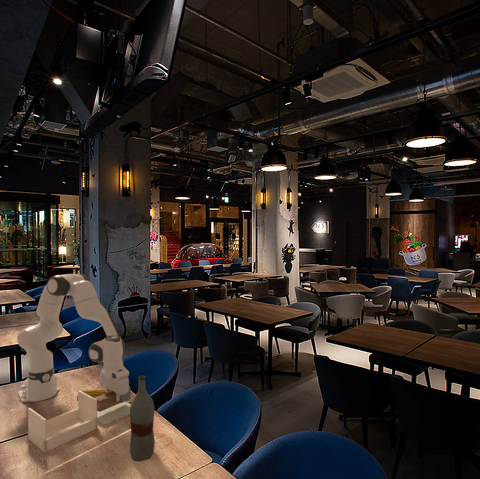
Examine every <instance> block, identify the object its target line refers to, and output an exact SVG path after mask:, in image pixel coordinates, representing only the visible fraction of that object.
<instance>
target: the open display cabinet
mask: <svg viewBox="0 0 480 479" xmlns="http://www.w3.org/2000/svg"><path fill="white" fill-rule="evenodd" d="M77 395H78V401H77V408H74V409H72V410H69V411H67V412H64V413H62V414H60V415H57V416H54V417H51V418H49V419H46V418H45V417H43V416H42V415H41V414H39V413H38V412H37V411H35V410H33V408H31V407H28V408H27V414H28V415H27V418H28V419H27V420H28V427H27V439H28V440H29V441H30V442H31V443H33V445H35V446H36V447H37V448H38V449H40V450H41V451H42V452H43V453H46V452H49V451H51V450H53V449H55V448H58V447H59V446H62V445H64V444H66V443H68V442H70V441H73V440H74V439H76V438H79V437H81V436H83V435H86V434H88V433H90V432H92V431H94V430H97V429H98V428H99V422H98V418H97V399H95V398H93V397H91V396H89V395H87V394H85V393H83V392H81V390H77Z"/></svg>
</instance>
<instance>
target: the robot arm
mask: <svg viewBox="0 0 480 479" xmlns="http://www.w3.org/2000/svg"><path fill="white" fill-rule="evenodd" d="M45 284H46V285H45V286H44V288H43V290H42V293H41V295H40V298H39V302H38V304H37V307H36V310H35V312H36V314H37V316H38V317H39V322H38V323H37V324H33V325H30V326H27V327H25V328H24V329H22V330H21V331H20V332H18V334H17V336H16V337H17V338H16V341H17V344H18V345H19V347H20V348H23V349H24V350H25V351H26V353H27V355H28V364H29V365H28V368H29V369H28V372H27V378H26V379H25V380H23V383H22V385H21V386H20V390H19V391H17V394H18V397H19V399H20V401H21V402H22V403H27V402H40V401H46V400H47V399H50V398H53V397H54V396H56V395H57V392H59V391H60V390H61V388H60V387H58V380H57V375H55V368H54V354H53V352H52V351H51V350H49V349H47V345H46V344H47V343H48V342H52V341H54V340H55V339H57V338H58V337H60V336H61V335H62V334H63V330H64V329H63V327H64V326H63V325H62V323H61V322H60V312H61V309H62V307H63V306H62V305H63V303H64V298H65V296H71V297H72V298H73V301H74V306H75V310H76V311H77V314H78V315H79V316H80V317H81V318H82V319H85V320H89V321H94V322H98V323H99V324H100V325H101V326H102V328H103V331H104V332H105V335H106V337H104V339H102V340H99V341H95V342H94V343H91V344H90V346H89V348H88V358H89V360H91V361H92V362H94V363H103V366H102V368H101V369H100V370H101V371H100V372H99V386H101V387H103V388H104V389H105V390H106V391H107V393H108V392H111V391H113V392H115V393H116V397H115V401H119V400H120V396H121V395H124V394H127V393H128V391H129V387H130V385H129V384H130V382H129V381H130V380H129V376H130V371H129V370H128V369H127V368H126V367H125V366H124V361H123V355H124V351H125V346H126V344H125V341H124V339H123V337H122V336H121V335H120V333H119V331H118V328H117V327H116V323H114V320H113V318H112V316H111V314H110V312H109V311H108V309H107V308H105V307H104V306H103V305H102V304H101V302H100V299H99V298H98V294H97V291H96V289H95V287H94V284H93V283H92V282H91V281H90V278H89V277H88V276H87V275H86V274H83V273H66V274H60V275H59V274H57V275H53V276H51V277H50V278H49V279H48V281H47V283H45Z"/></svg>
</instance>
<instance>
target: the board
mask: <svg viewBox="0 0 480 479" xmlns="http://www.w3.org/2000/svg"><path fill="white" fill-rule="evenodd" d="M130 406H131V403H129V402H127V401H125V402H123V403H119V404H117V405H115V406H112V407H110V408H108V409H105V410H103V411H101V412H99V411H97V418H98V423H100V424H101V425H103V426H105V425H107V424H110V423H112V422H114V421H116V420H118V419H120V418H126V417H127V416H130V415H129V414H130Z"/></svg>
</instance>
